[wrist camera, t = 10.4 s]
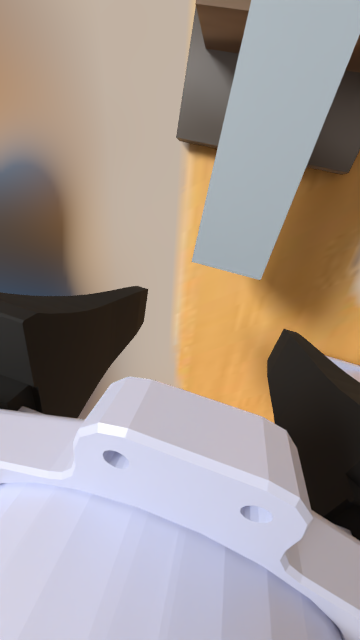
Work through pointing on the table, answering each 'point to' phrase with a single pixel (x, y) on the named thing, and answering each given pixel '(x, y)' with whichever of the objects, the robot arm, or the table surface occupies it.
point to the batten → (272, 125)
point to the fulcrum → (217, 77)
